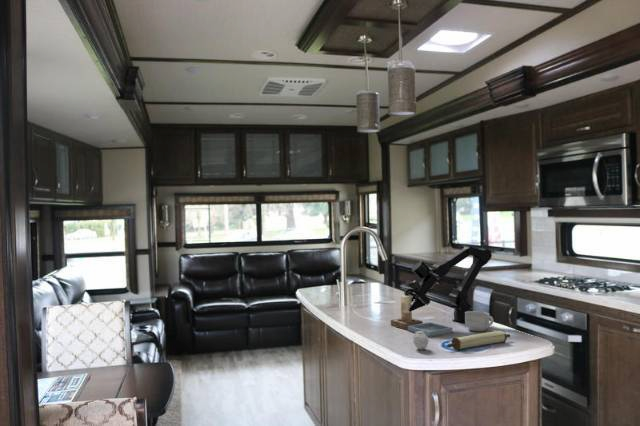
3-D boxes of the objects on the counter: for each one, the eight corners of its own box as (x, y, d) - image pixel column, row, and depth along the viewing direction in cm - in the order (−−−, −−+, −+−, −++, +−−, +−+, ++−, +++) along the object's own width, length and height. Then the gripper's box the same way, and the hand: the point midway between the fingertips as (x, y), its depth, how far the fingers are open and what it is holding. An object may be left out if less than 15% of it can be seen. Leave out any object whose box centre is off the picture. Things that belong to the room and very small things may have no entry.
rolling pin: (504, 339, 207) (504, 328, 207) (515, 342, 202) (514, 330, 202) (443, 349, 194) (442, 337, 194) (452, 353, 189) (452, 340, 189)
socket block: (422, 326, 233) (422, 321, 233) (405, 329, 227) (405, 324, 227) (408, 322, 242) (407, 317, 242) (390, 325, 237) (390, 319, 237)
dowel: (414, 326, 234) (413, 296, 234) (405, 327, 231) (405, 297, 231) (407, 324, 238) (406, 295, 238) (399, 325, 236) (398, 296, 236)
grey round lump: (425, 346, 199) (424, 329, 199) (431, 351, 192) (431, 333, 192) (410, 347, 198) (410, 330, 198) (416, 352, 191) (416, 334, 191)
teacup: (460, 328, 227) (459, 311, 227) (479, 326, 231) (478, 309, 231) (480, 335, 214) (479, 317, 214) (500, 332, 218) (499, 314, 218)
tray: (452, 332, 220) (452, 327, 220) (428, 337, 213) (428, 332, 213) (430, 326, 232) (430, 322, 232) (407, 330, 225) (407, 326, 225)
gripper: (407, 271, 245) (386, 294, 242) (423, 276, 227) (401, 301, 224) (422, 286, 247) (401, 309, 244) (439, 292, 229) (418, 317, 226)
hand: (405, 309), depth 235 cm, fingers open, 9 cm apart
